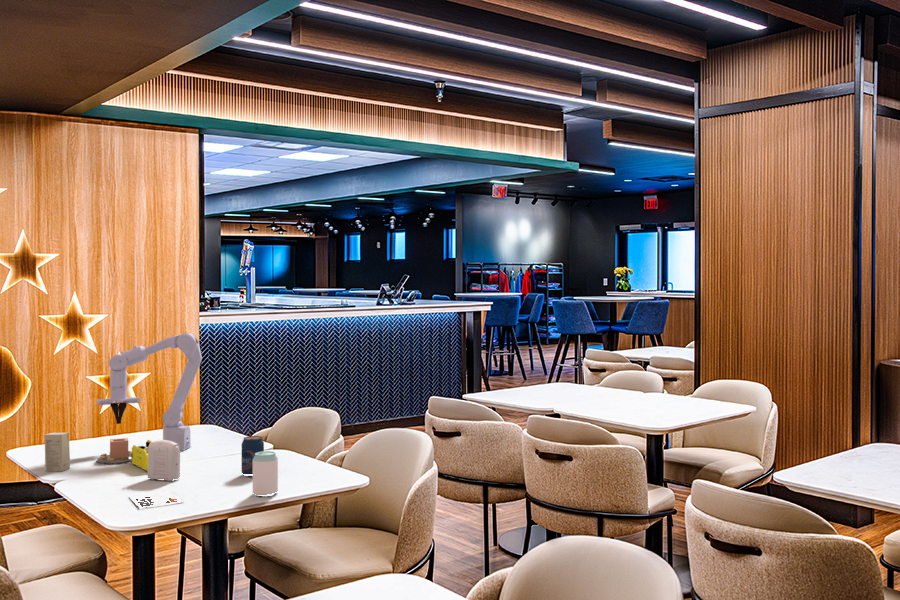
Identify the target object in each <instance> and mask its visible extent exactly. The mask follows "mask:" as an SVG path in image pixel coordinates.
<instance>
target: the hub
mask: <svg viewBox="0 0 900 600" xmlns="http://www.w3.org/2000/svg"><path fill="white" fill-rule="evenodd" d="M131 452H132V450H128V456H125V457H121V459H115V457H110V454H107V453H102V454H100V455H99V457H98V458H97V459H96V462H98V463H97V464H100V465H122V463H124V464H130V463H129V462H131V463H132V457H131V454H132V453H131Z"/></svg>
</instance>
